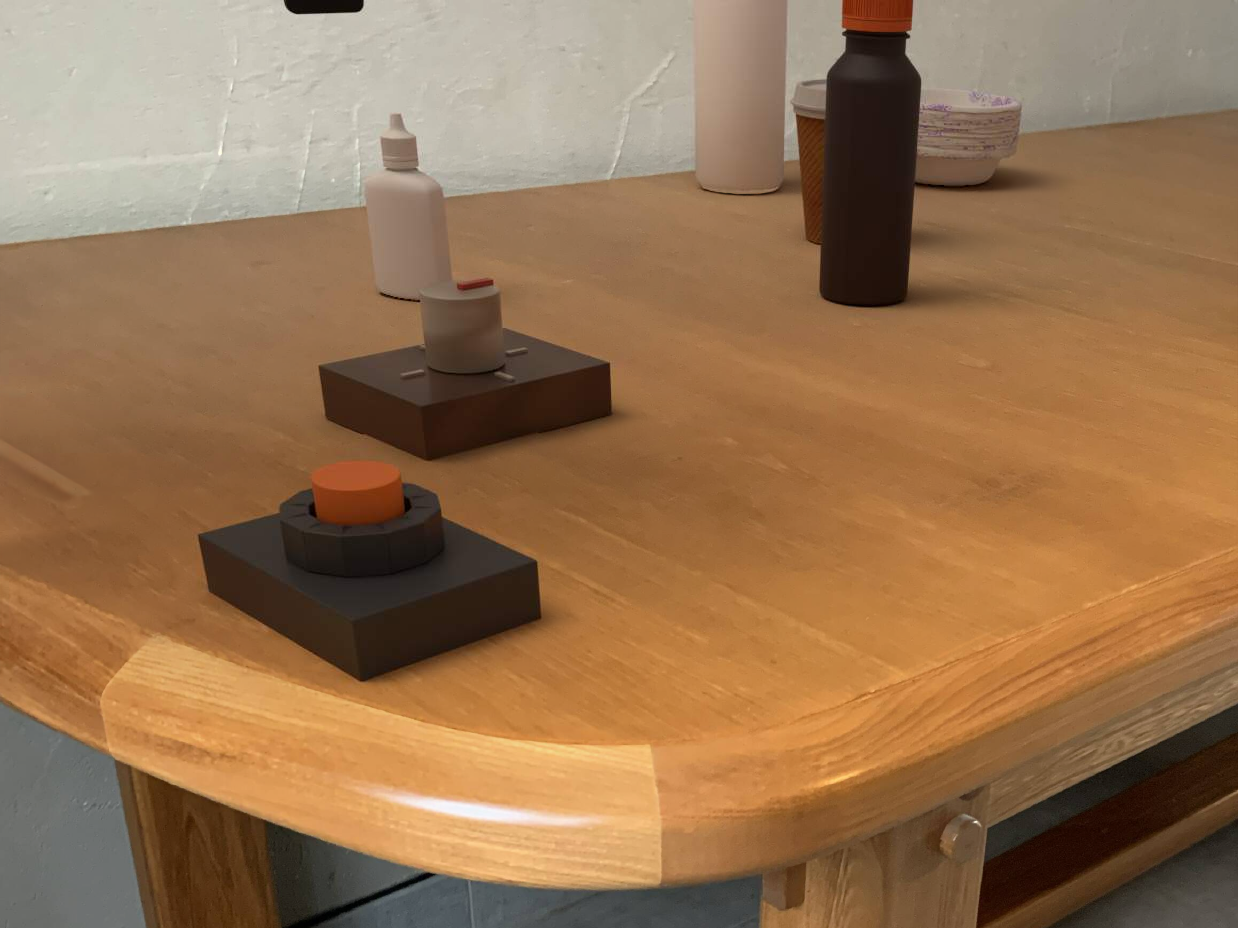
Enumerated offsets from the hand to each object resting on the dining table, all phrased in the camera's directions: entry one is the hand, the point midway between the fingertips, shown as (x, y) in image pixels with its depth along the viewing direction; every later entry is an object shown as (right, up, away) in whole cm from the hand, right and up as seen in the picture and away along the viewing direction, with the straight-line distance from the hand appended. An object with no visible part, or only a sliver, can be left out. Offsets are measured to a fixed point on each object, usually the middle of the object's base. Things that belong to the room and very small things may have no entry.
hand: (301, 2), depth 67 cm
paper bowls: (+37, +35, +92) cm, 105 cm away
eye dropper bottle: (-6, +4, +44) cm, 45 cm away
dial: (+3, -9, +19) cm, 22 cm away
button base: (+4, -27, -1) cm, 27 cm away
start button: (+4, -24, -4) cm, 24 cm away
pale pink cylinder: (+16, +30, +84) cm, 91 cm away
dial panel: (+3, -12, +21) cm, 24 cm away
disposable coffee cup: (+26, +17, +65) cm, 72 cm away
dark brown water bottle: (+27, +5, +48) cm, 55 cm away
